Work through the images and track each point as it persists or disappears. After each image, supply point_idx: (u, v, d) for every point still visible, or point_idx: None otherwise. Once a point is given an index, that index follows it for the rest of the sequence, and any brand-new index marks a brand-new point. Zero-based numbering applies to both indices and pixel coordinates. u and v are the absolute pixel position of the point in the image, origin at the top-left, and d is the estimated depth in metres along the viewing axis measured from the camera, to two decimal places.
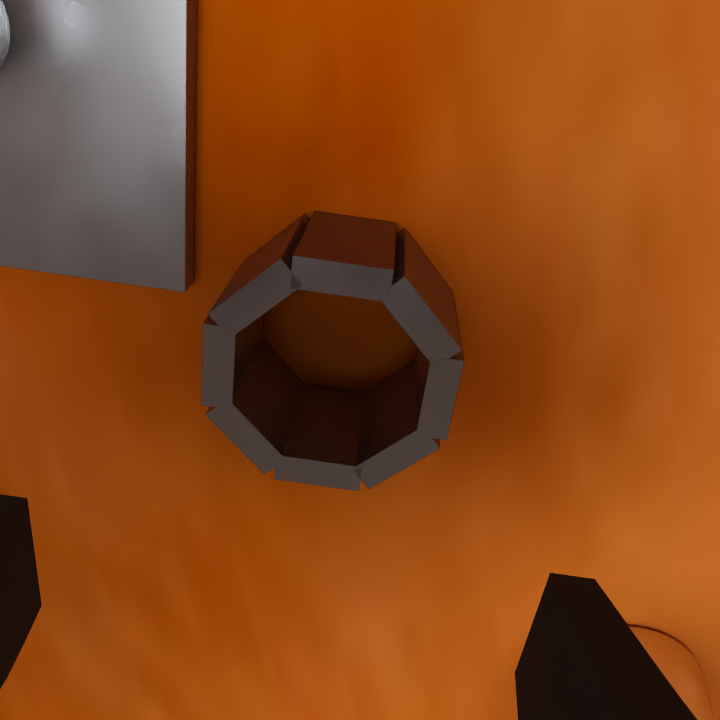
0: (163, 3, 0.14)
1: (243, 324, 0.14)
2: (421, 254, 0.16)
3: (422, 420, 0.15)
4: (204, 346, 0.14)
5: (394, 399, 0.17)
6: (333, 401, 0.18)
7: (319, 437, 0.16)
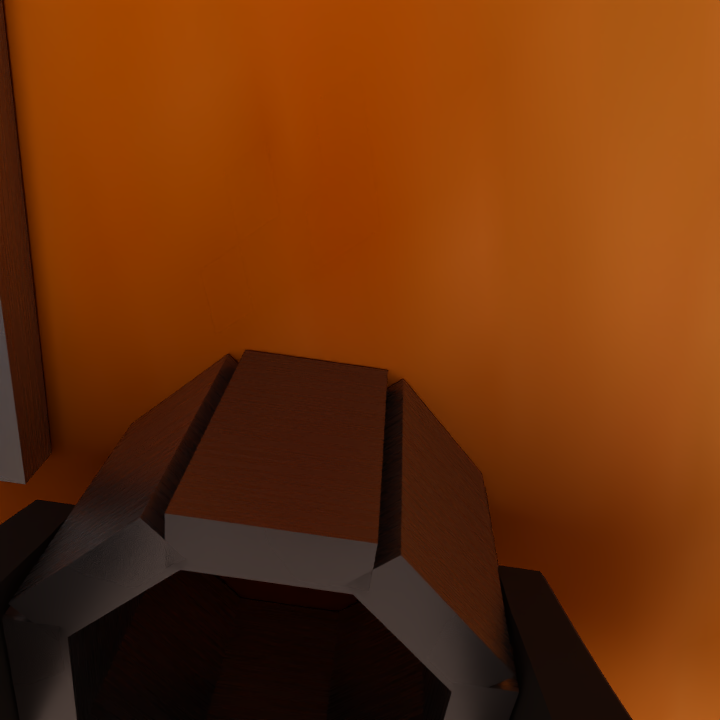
0: None
1: (81, 620, 0.07)
2: (431, 427, 0.09)
3: None
4: (11, 652, 0.07)
5: (385, 661, 0.10)
6: (286, 641, 0.11)
7: None
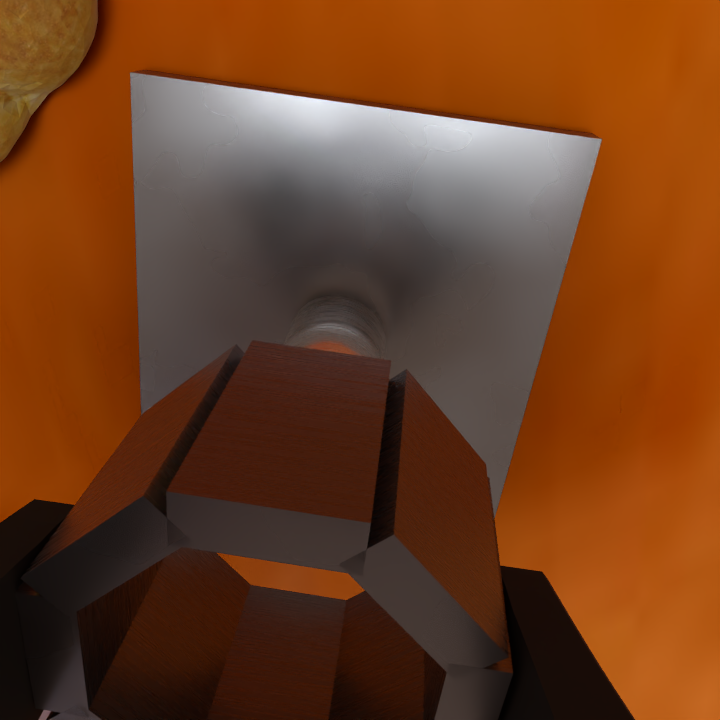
0: (526, 333, 0.16)
1: (89, 596, 0.07)
2: (434, 416, 0.09)
3: None
4: (23, 626, 0.08)
5: (389, 647, 0.10)
6: (293, 627, 0.11)
7: None
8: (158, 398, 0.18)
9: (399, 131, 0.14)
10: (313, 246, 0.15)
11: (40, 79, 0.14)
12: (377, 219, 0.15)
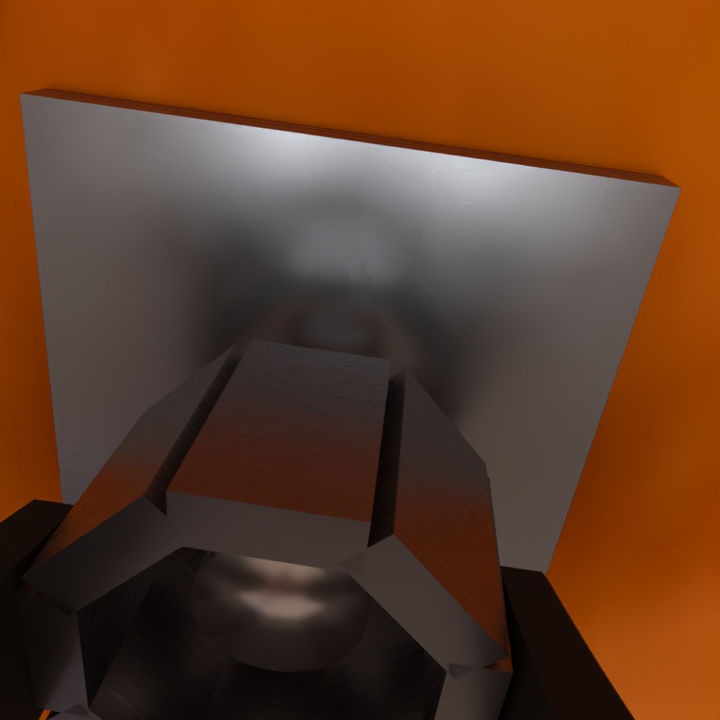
0: (566, 437, 0.12)
1: (89, 595, 0.07)
2: (433, 416, 0.09)
3: None
4: (22, 625, 0.08)
5: (388, 647, 0.10)
6: None
7: None
8: None
9: (397, 175, 0.10)
10: (281, 326, 0.11)
11: None
12: (367, 292, 0.11)
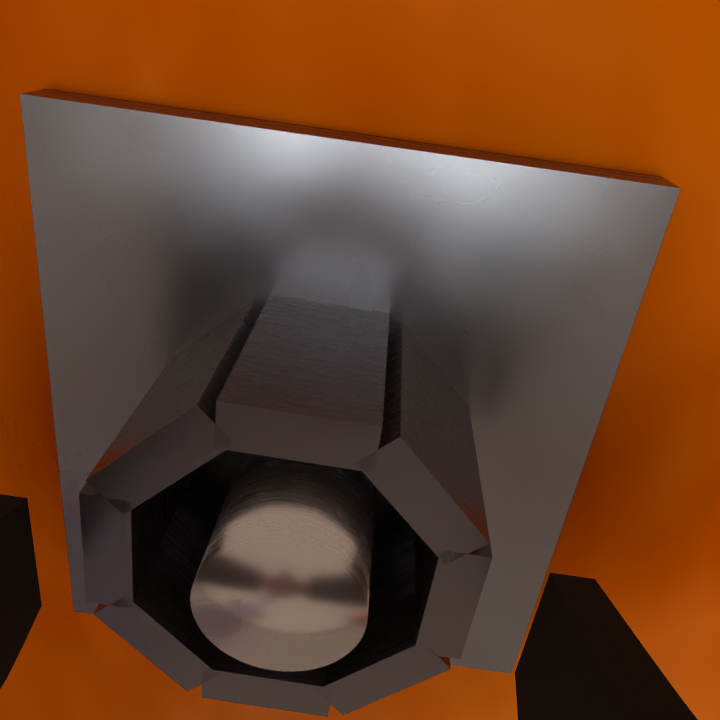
0: (566, 438, 0.12)
1: (143, 496, 0.09)
2: (425, 362, 0.11)
3: (424, 632, 0.10)
4: (82, 524, 0.09)
5: (383, 563, 0.12)
6: None
7: None
8: None
9: (397, 176, 0.10)
10: None
11: None
12: (367, 292, 0.11)
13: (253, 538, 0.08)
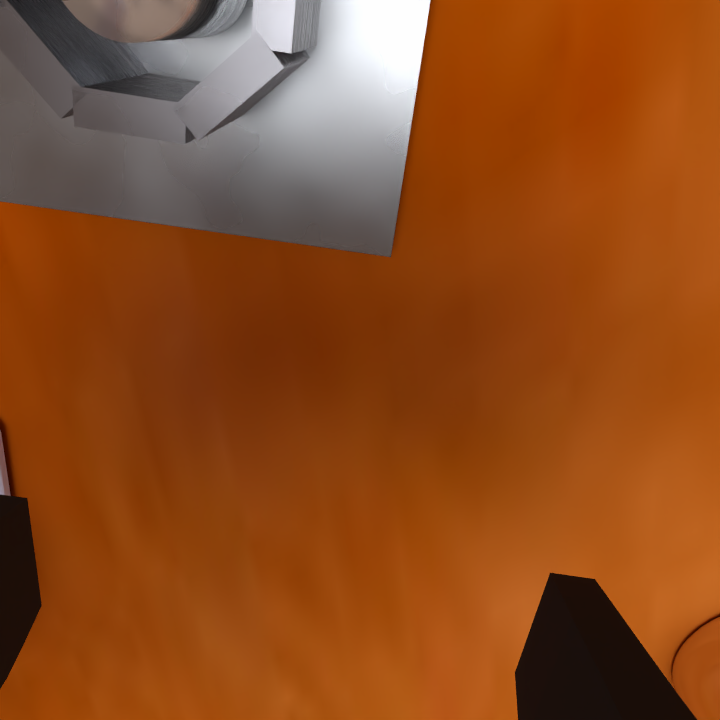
0: None
1: None
2: None
3: (257, 20, 0.11)
4: None
5: None
6: (179, 82, 0.14)
7: (142, 88, 0.13)
8: None
9: None
10: None
11: None
12: None
13: None
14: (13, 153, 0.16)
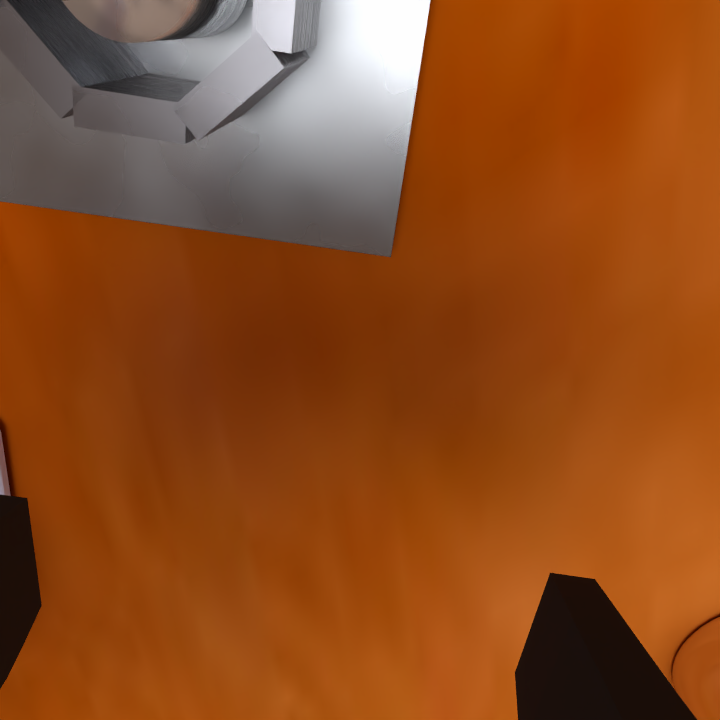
0: None
1: None
2: None
3: (257, 20, 0.11)
4: None
5: None
6: (179, 82, 0.14)
7: (142, 88, 0.13)
8: None
9: None
10: None
11: None
12: None
13: None
14: (13, 153, 0.16)
